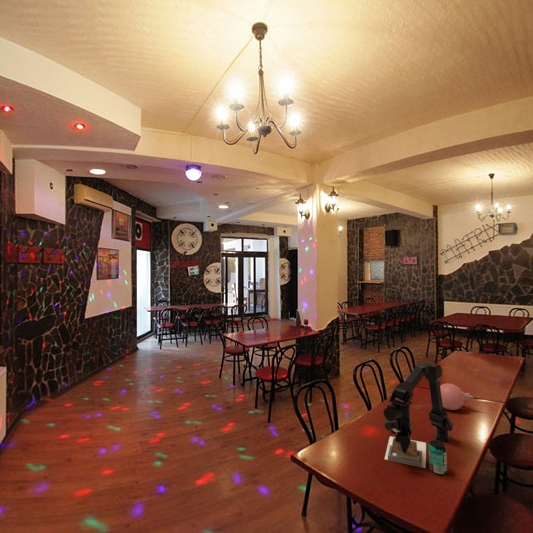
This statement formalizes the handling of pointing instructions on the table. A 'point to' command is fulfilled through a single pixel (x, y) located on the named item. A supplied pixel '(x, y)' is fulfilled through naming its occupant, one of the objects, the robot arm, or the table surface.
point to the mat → (406, 459)
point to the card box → (410, 451)
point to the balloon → (453, 396)
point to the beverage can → (437, 458)
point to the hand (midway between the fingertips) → (404, 449)
